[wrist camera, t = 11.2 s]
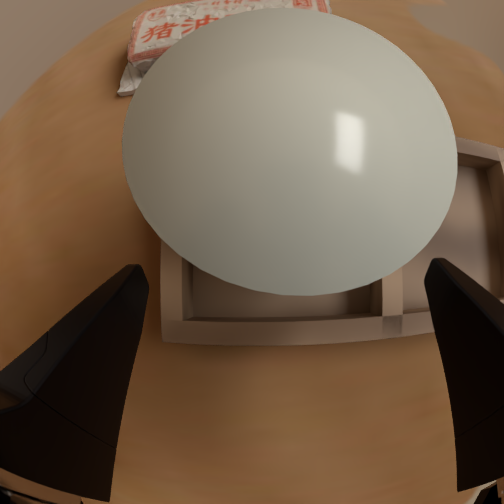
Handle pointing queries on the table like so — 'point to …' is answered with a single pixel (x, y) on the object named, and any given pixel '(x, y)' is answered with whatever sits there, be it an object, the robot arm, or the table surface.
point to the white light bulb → (290, 152)
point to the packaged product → (186, 29)
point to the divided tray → (355, 300)
